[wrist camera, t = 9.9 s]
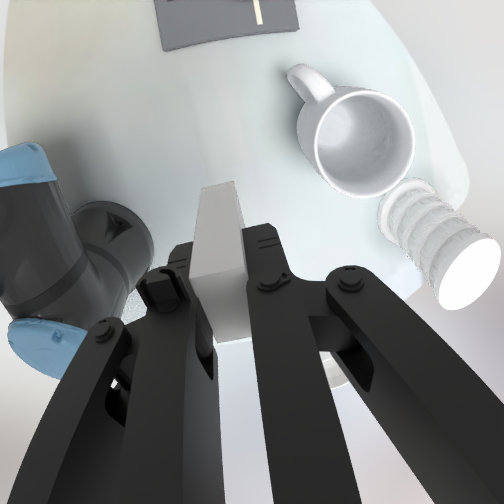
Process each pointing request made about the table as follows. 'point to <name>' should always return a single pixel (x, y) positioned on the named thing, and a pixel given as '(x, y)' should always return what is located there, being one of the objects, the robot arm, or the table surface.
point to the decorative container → (439, 242)
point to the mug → (352, 134)
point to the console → (221, 20)
